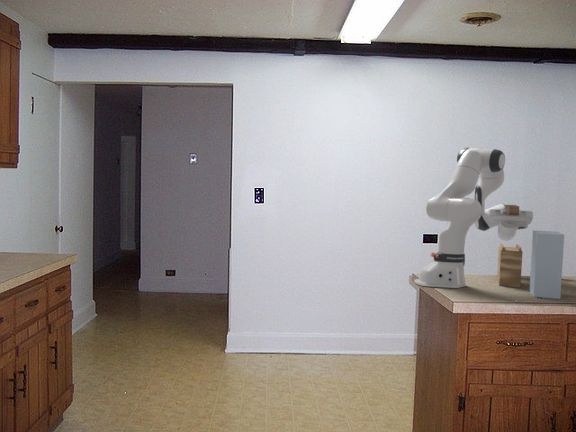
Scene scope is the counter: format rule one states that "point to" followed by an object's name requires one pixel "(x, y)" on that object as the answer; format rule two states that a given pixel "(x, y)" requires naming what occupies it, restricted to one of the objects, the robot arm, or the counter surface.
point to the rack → (509, 266)
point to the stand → (546, 264)
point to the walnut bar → (512, 210)
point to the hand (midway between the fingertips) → (511, 208)
